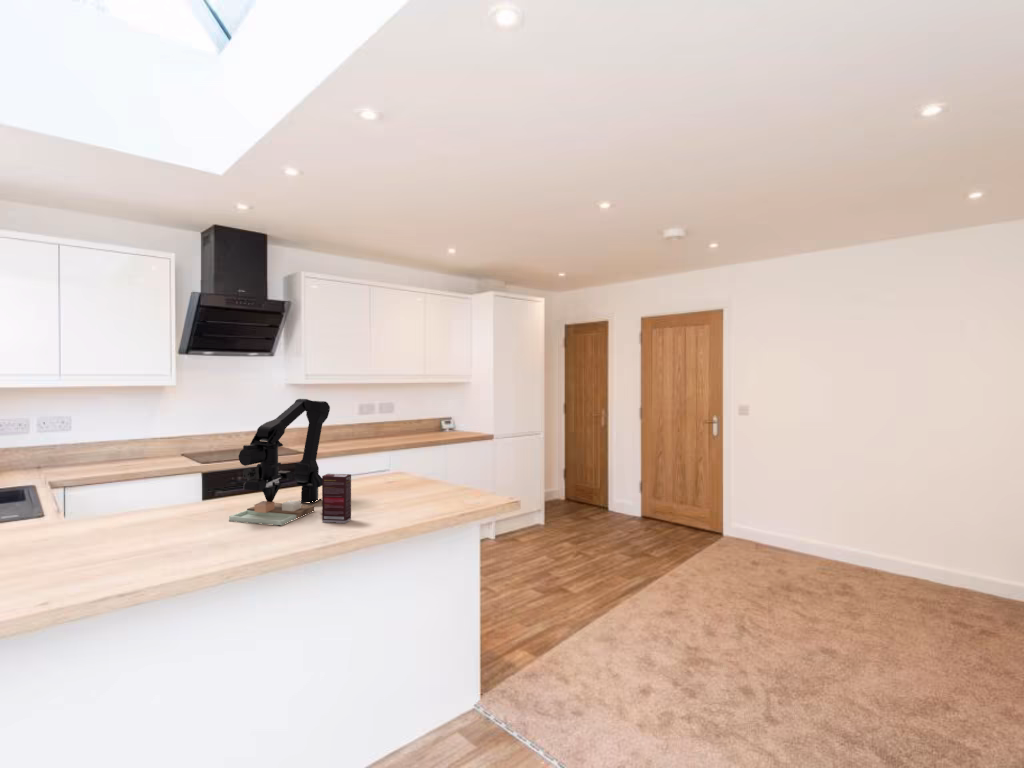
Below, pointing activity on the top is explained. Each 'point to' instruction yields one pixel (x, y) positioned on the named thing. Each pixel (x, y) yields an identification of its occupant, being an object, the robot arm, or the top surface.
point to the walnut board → (298, 513)
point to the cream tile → (291, 505)
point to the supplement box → (336, 498)
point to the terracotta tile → (264, 506)
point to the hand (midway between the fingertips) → (269, 504)
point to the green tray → (262, 517)
